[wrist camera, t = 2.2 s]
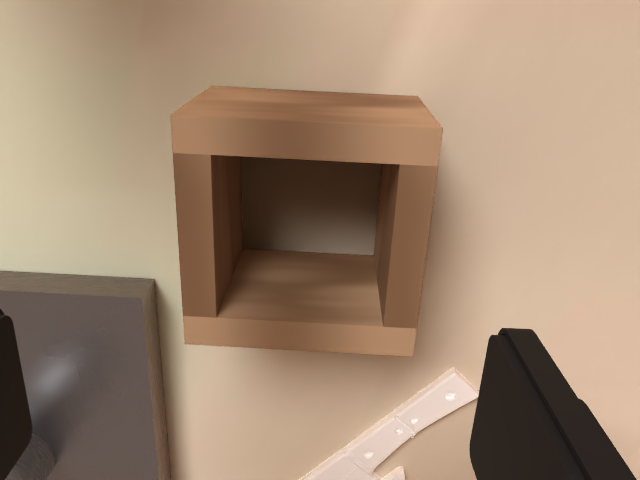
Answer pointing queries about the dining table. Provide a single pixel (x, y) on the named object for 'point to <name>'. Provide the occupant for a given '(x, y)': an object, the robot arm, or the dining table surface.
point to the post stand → (89, 376)
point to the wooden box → (302, 267)
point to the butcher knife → (396, 431)
